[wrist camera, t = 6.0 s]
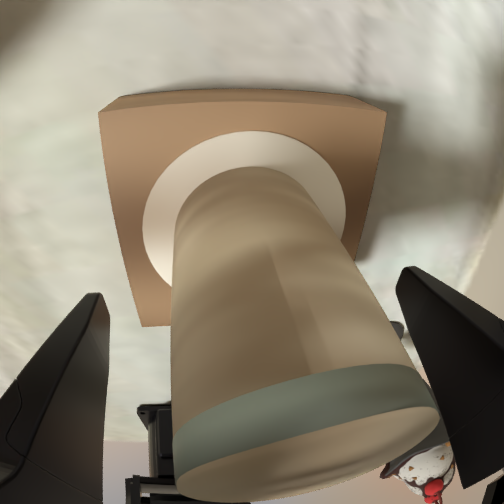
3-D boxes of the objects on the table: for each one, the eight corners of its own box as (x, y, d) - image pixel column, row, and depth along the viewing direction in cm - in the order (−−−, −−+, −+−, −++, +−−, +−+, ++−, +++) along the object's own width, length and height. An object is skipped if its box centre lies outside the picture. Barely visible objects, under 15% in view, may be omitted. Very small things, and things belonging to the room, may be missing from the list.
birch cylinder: (327, 166, 10) (490, 375, 4) (307, 283, 13) (381, 471, 7) (167, 169, 9) (142, 454, 3) (181, 293, 12) (194, 508, 6)
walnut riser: (320, 268, 17) (340, 309, 14) (146, 281, 16) (141, 328, 13) (349, 95, 12) (388, 113, 9) (119, 96, 10) (97, 113, 8)
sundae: (344, 322, 20) (432, 535, 8) (423, 306, 21) (517, 477, 9) (326, 375, 24) (384, 543, 12) (395, 358, 25) (461, 504, 13)
